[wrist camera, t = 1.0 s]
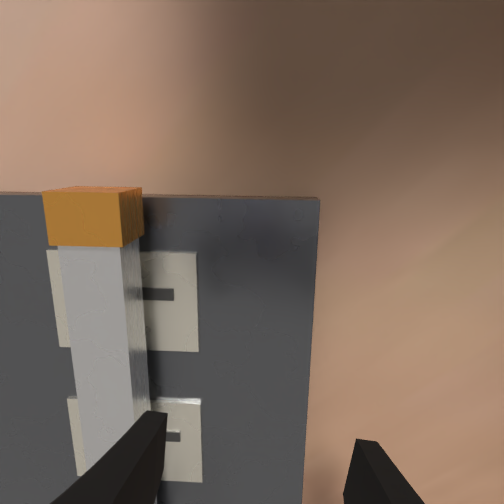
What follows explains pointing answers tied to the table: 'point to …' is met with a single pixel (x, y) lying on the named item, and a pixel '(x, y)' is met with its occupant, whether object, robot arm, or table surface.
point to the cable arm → (102, 306)
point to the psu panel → (172, 348)
